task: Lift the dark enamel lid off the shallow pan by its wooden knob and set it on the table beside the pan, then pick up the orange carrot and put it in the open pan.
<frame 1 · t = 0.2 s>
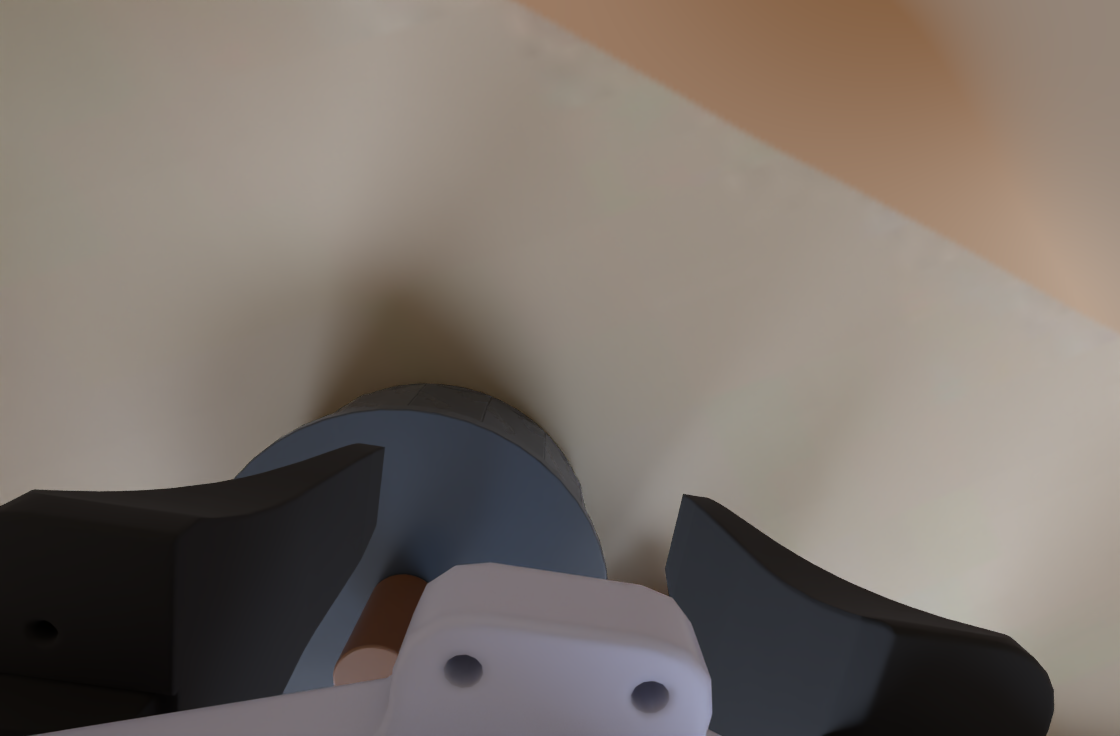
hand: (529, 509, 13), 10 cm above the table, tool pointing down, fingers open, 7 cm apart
lid: (408, 594, 20), point 4 cm above the table, touching pan
pan: (434, 530, 25), on the table
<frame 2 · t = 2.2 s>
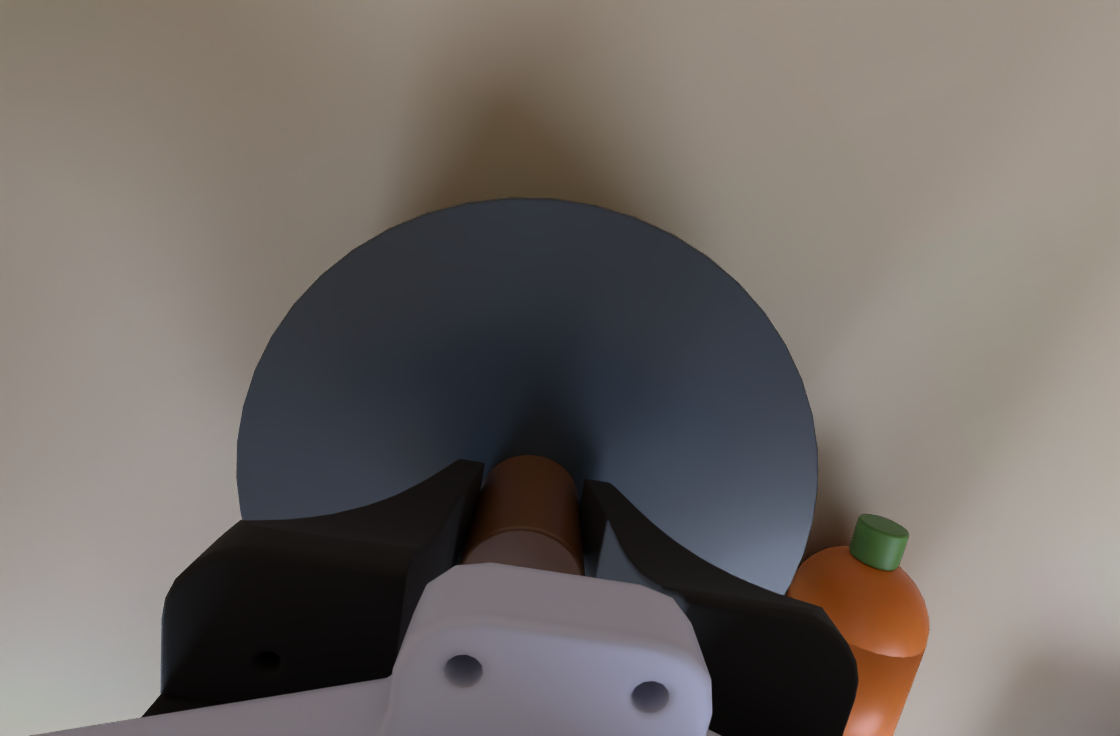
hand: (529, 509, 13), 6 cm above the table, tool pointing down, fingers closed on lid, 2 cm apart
lid: (530, 490, 14), point 5 cm above the table, touching gripper, pan
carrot: (807, 632, 21), on the table
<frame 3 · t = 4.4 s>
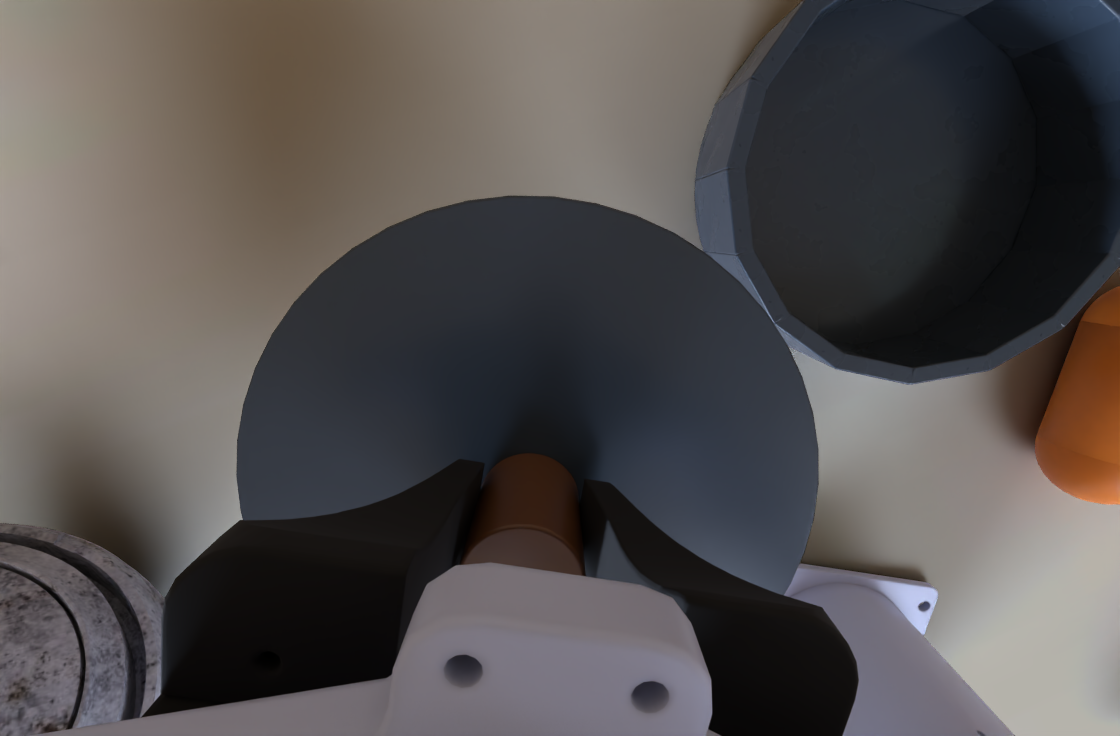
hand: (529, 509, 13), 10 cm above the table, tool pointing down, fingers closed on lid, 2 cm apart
lid: (530, 489, 14), point 9 cm above the table, touching gripper
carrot: (1078, 380, 24), on the table
pan: (866, 185, 22), on the table
decorative orb: (103, 614, 26), on the table
when the fingers open (2 cm above the table, at t = 6.8 s): lid stays where it is, point 1 cm above the table.
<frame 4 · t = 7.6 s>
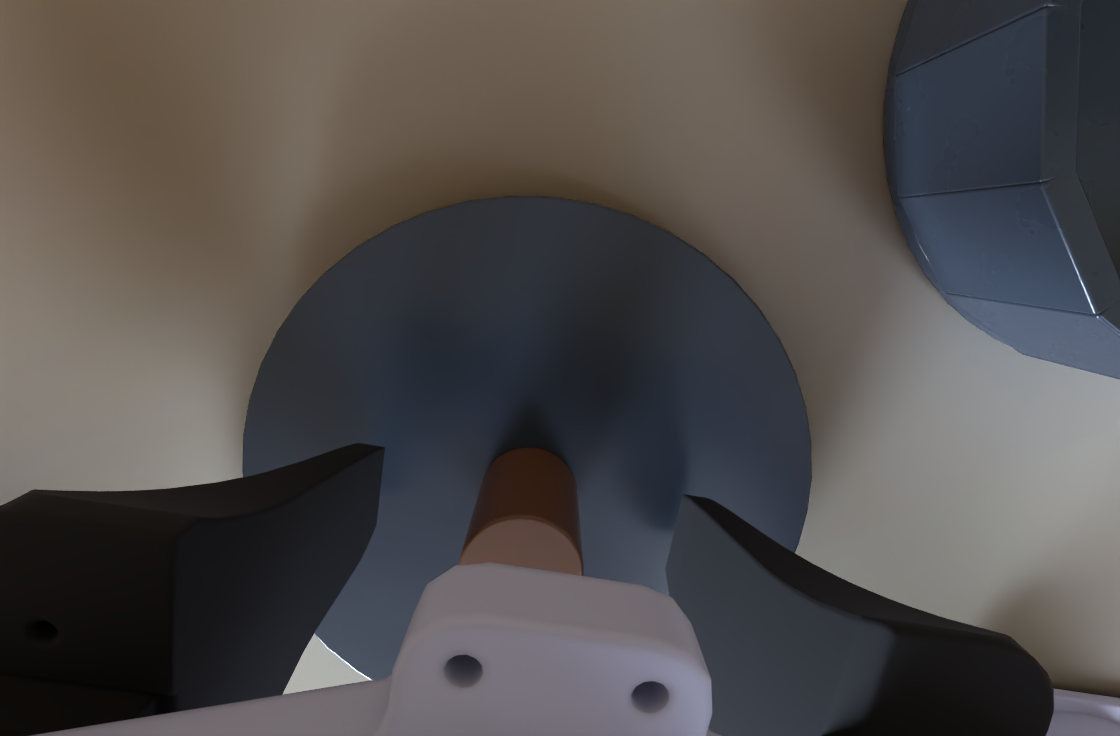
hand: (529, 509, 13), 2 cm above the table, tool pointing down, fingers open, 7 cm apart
lid: (529, 482, 15), point 1 cm above the table
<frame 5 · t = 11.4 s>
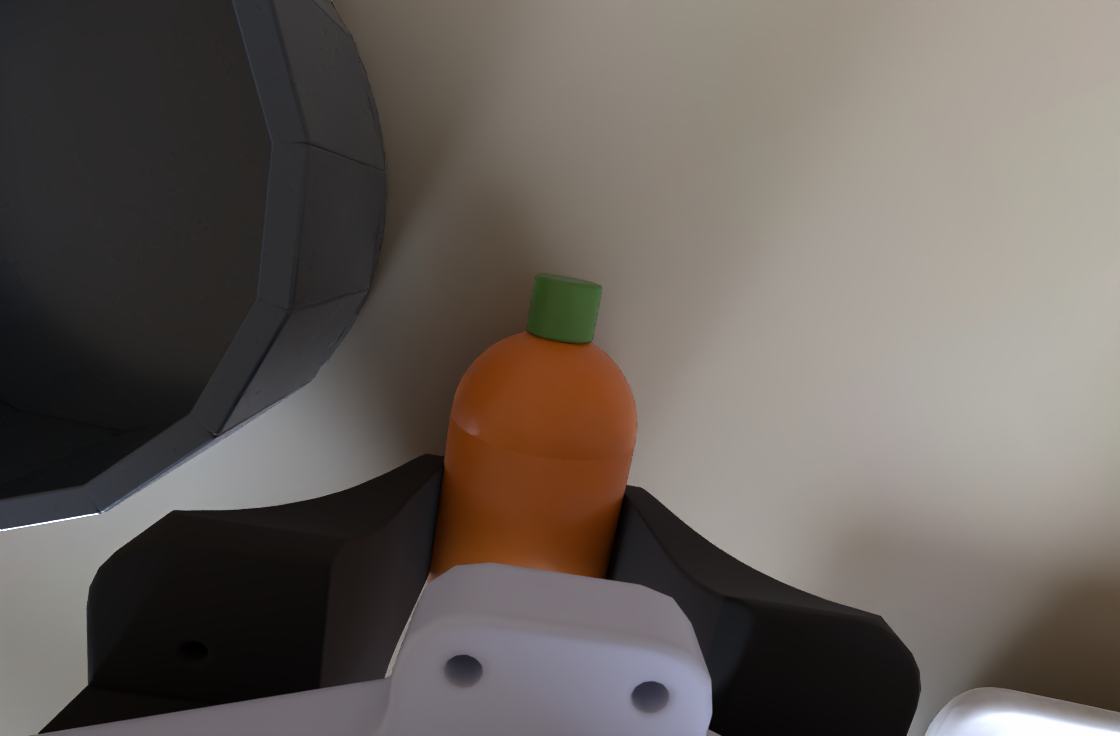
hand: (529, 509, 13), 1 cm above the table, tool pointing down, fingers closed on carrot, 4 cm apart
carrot: (530, 483, 15), on the table, touching gripper
pan: (95, 167, 13), on the table
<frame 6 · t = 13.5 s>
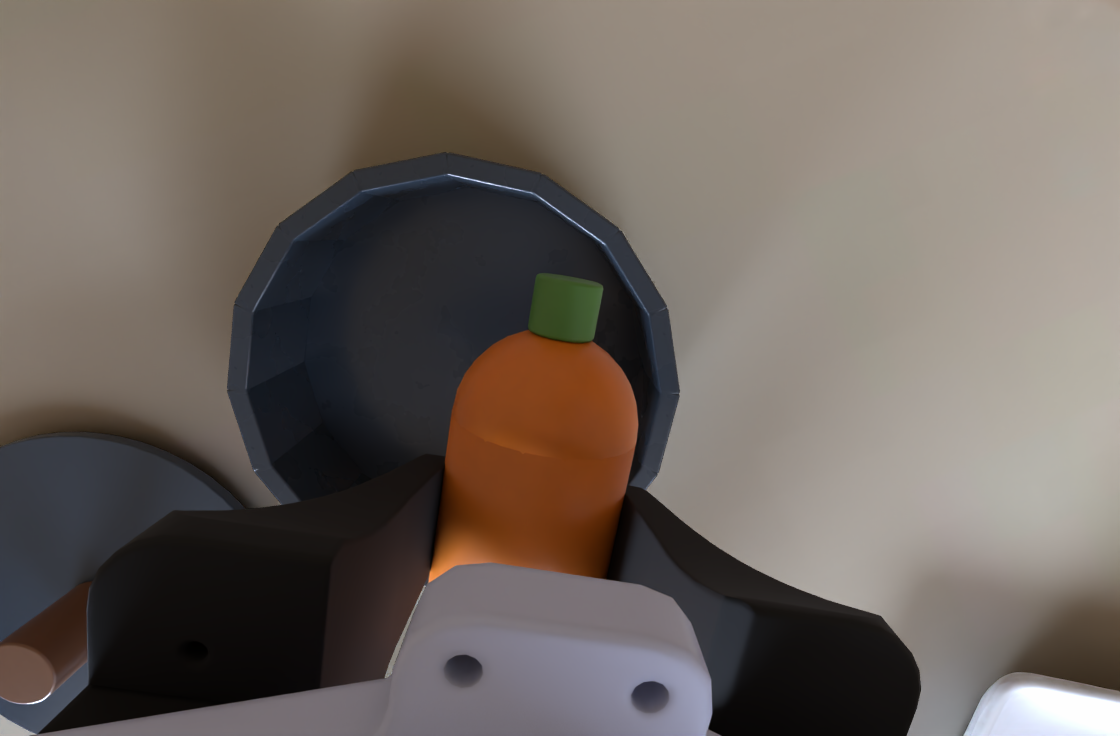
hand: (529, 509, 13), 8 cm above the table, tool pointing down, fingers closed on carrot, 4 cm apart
lid: (110, 599, 23), point 1 cm above the table
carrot: (531, 482, 15), point 7 cm above the table, touching gripper
pan: (475, 359, 21), on the table
when the fingers open (2 cm above the table, at t = 15.8 s): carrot stays where it is, resting on pan.
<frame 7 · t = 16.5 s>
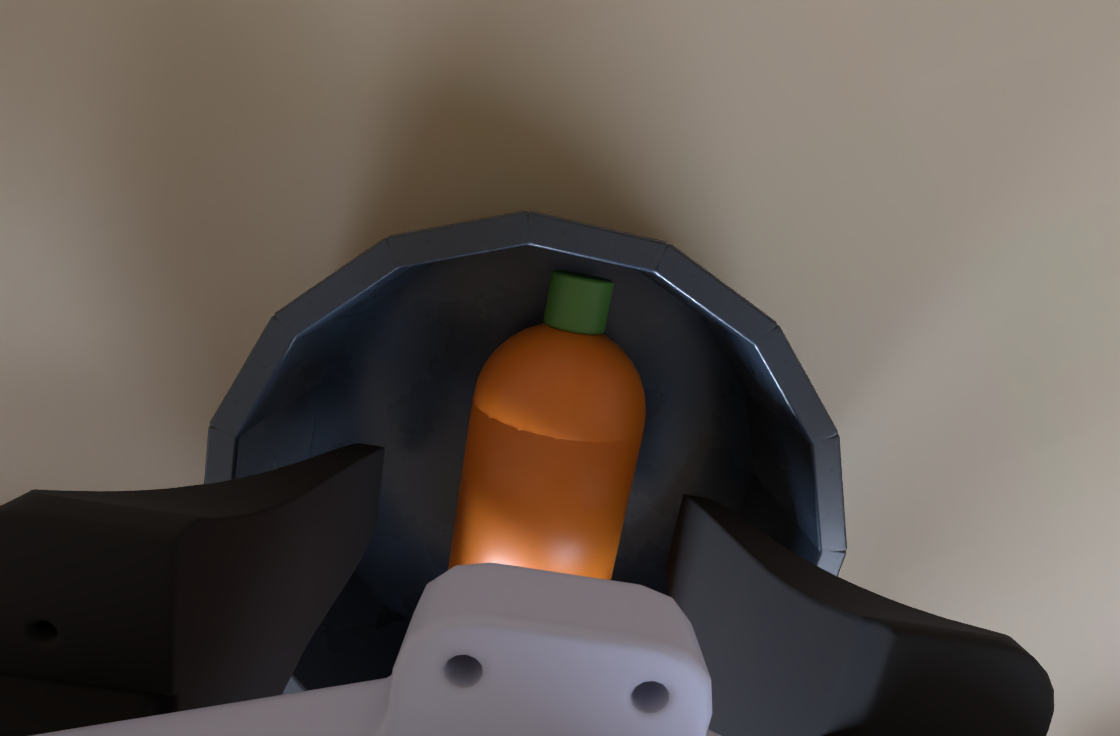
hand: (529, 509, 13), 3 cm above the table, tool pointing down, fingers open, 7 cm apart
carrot: (531, 467, 16), point 1 cm above the table, tilted 9°, touching pan
pan: (533, 462, 16), on the table
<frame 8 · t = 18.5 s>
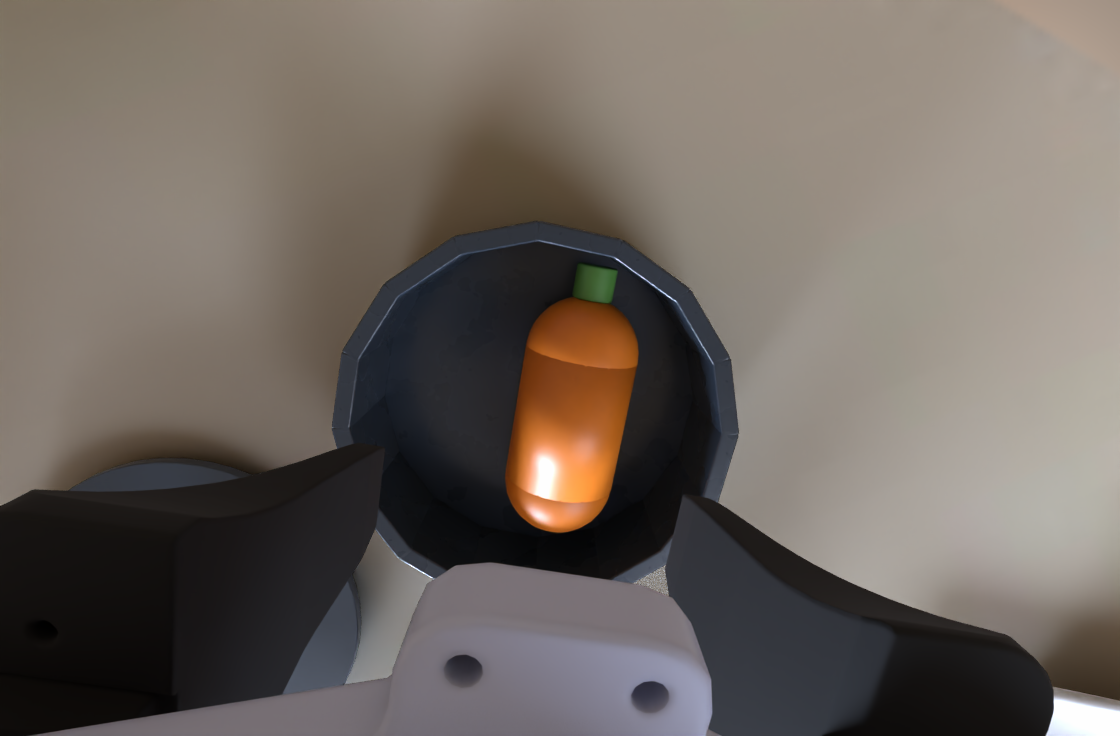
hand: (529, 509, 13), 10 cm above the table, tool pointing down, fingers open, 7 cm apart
lid: (196, 610, 24), point 1 cm above the table
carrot: (540, 398, 22), point 1 cm above the table, tilted 35°, touching pan
pan: (539, 394, 23), on the table
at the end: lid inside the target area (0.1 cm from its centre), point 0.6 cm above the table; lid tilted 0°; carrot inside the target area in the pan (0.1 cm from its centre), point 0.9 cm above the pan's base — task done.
